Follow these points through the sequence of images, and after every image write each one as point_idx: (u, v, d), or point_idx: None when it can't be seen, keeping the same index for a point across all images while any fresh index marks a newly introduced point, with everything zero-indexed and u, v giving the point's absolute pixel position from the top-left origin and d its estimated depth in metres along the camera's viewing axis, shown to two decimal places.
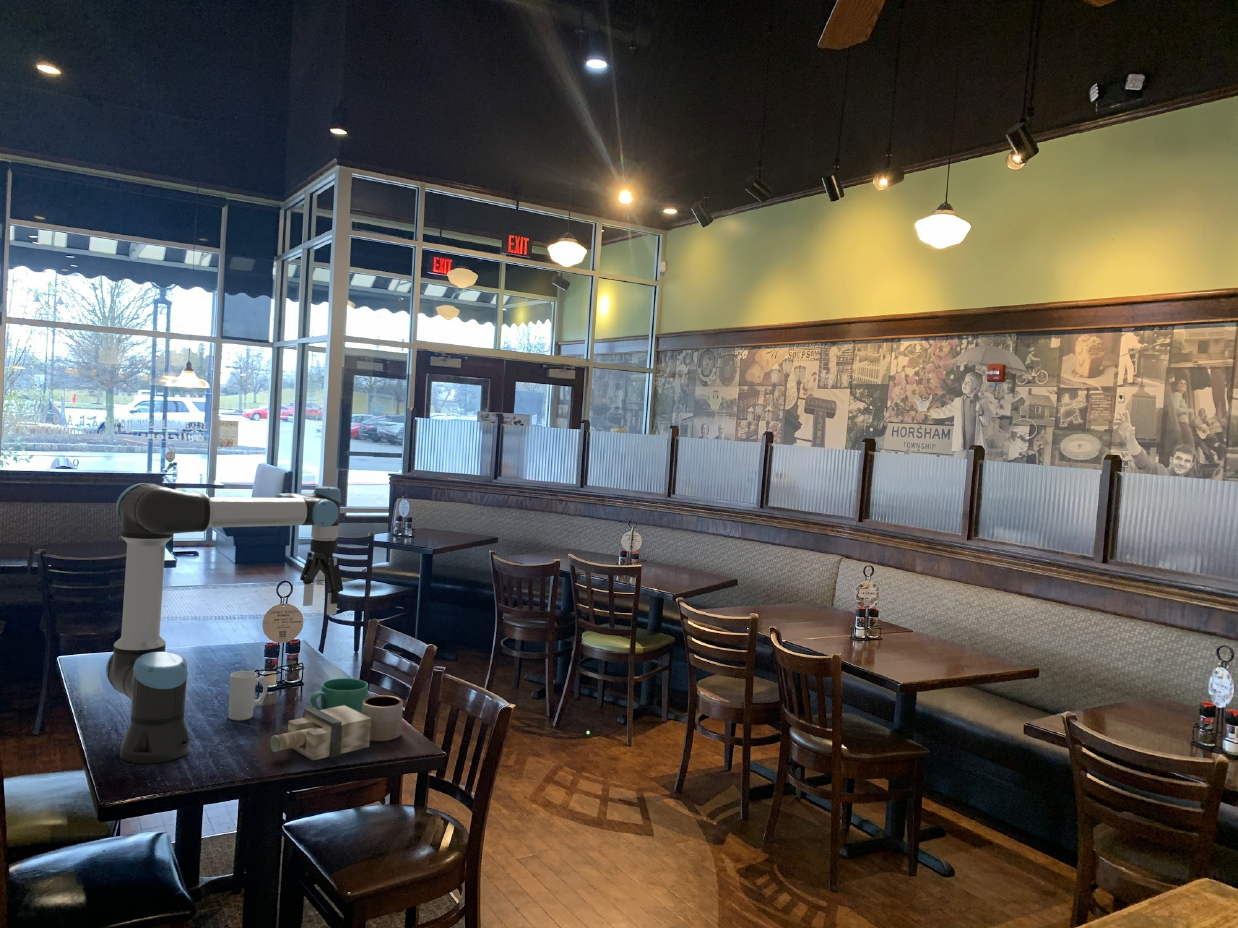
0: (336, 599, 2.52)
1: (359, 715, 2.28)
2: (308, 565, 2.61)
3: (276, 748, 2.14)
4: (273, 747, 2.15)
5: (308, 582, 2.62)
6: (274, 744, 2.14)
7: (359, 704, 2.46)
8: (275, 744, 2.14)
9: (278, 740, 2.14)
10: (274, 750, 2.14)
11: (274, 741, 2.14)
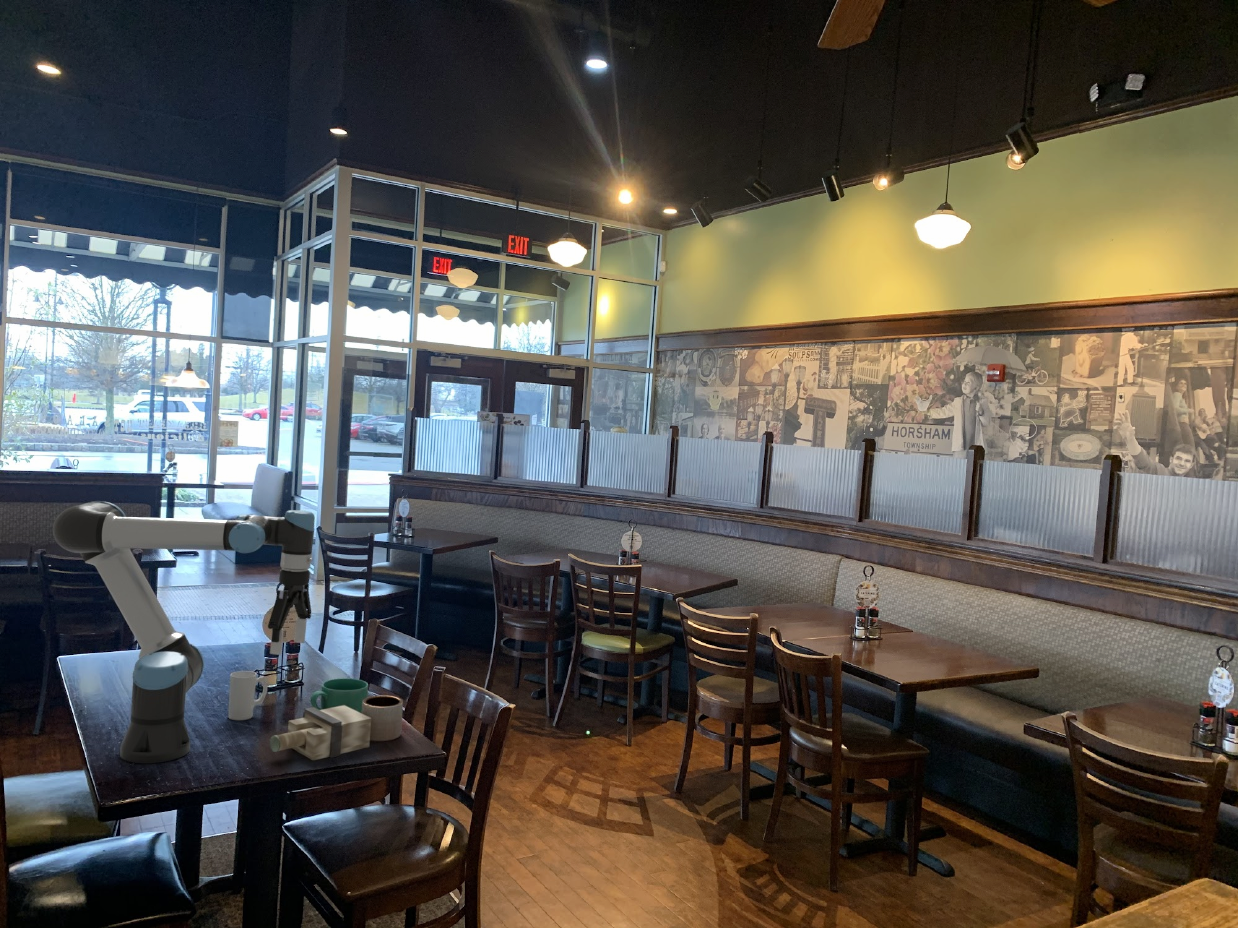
0: (276, 637, 2.23)
1: (359, 715, 2.28)
2: None
3: (276, 748, 2.14)
4: (273, 747, 2.15)
5: (301, 616, 2.38)
6: (274, 744, 2.14)
7: (359, 704, 2.46)
8: (275, 744, 2.14)
9: (278, 740, 2.14)
10: (274, 750, 2.14)
11: (274, 741, 2.14)
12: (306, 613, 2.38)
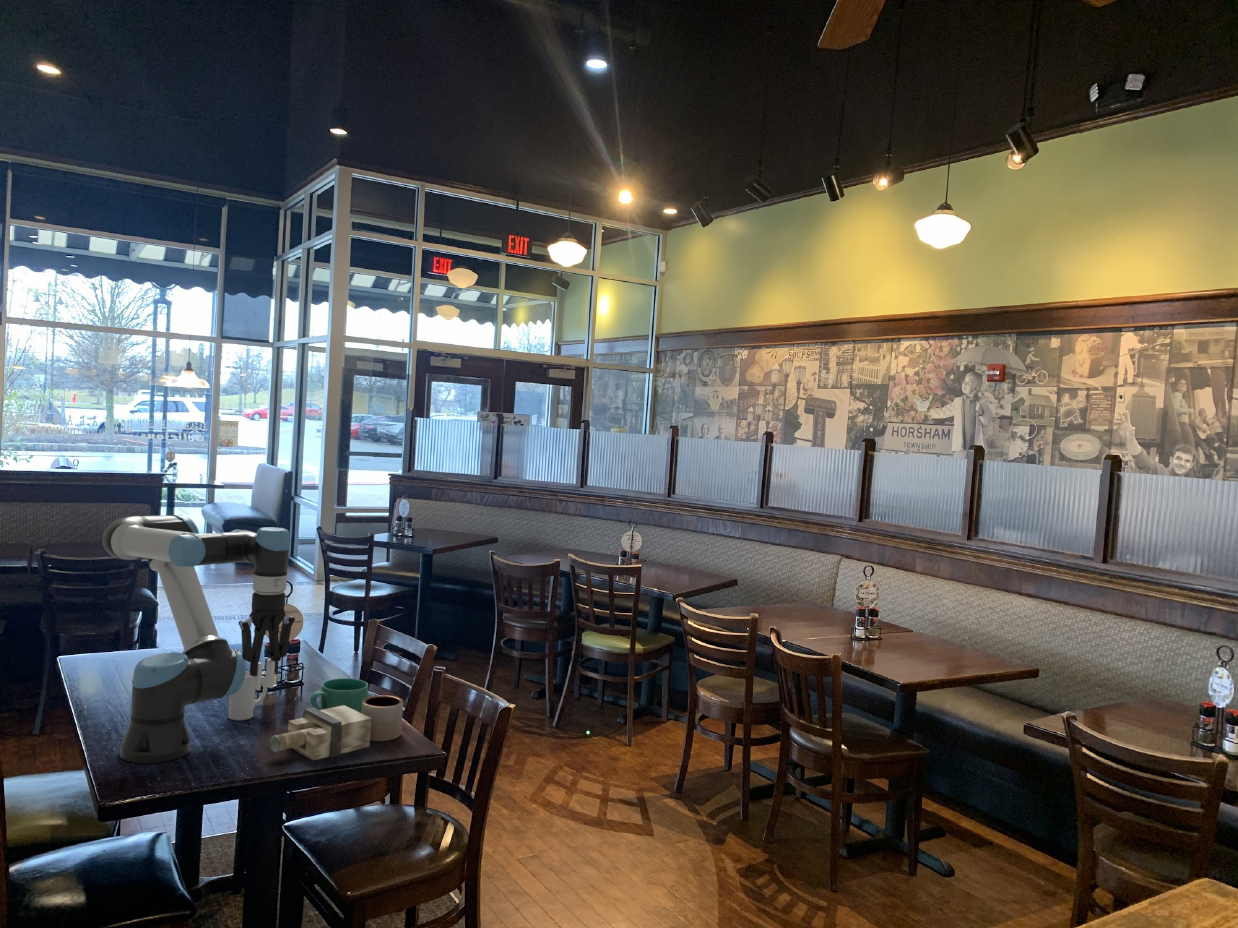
0: (252, 671, 2.08)
1: (359, 715, 2.28)
2: (281, 631, 2.15)
3: (276, 748, 2.14)
4: (273, 747, 2.15)
5: (272, 658, 2.13)
6: (274, 744, 2.14)
7: (359, 704, 2.46)
8: (275, 744, 2.14)
9: (278, 740, 2.14)
10: (274, 750, 2.14)
11: (274, 741, 2.14)
12: (276, 653, 2.12)
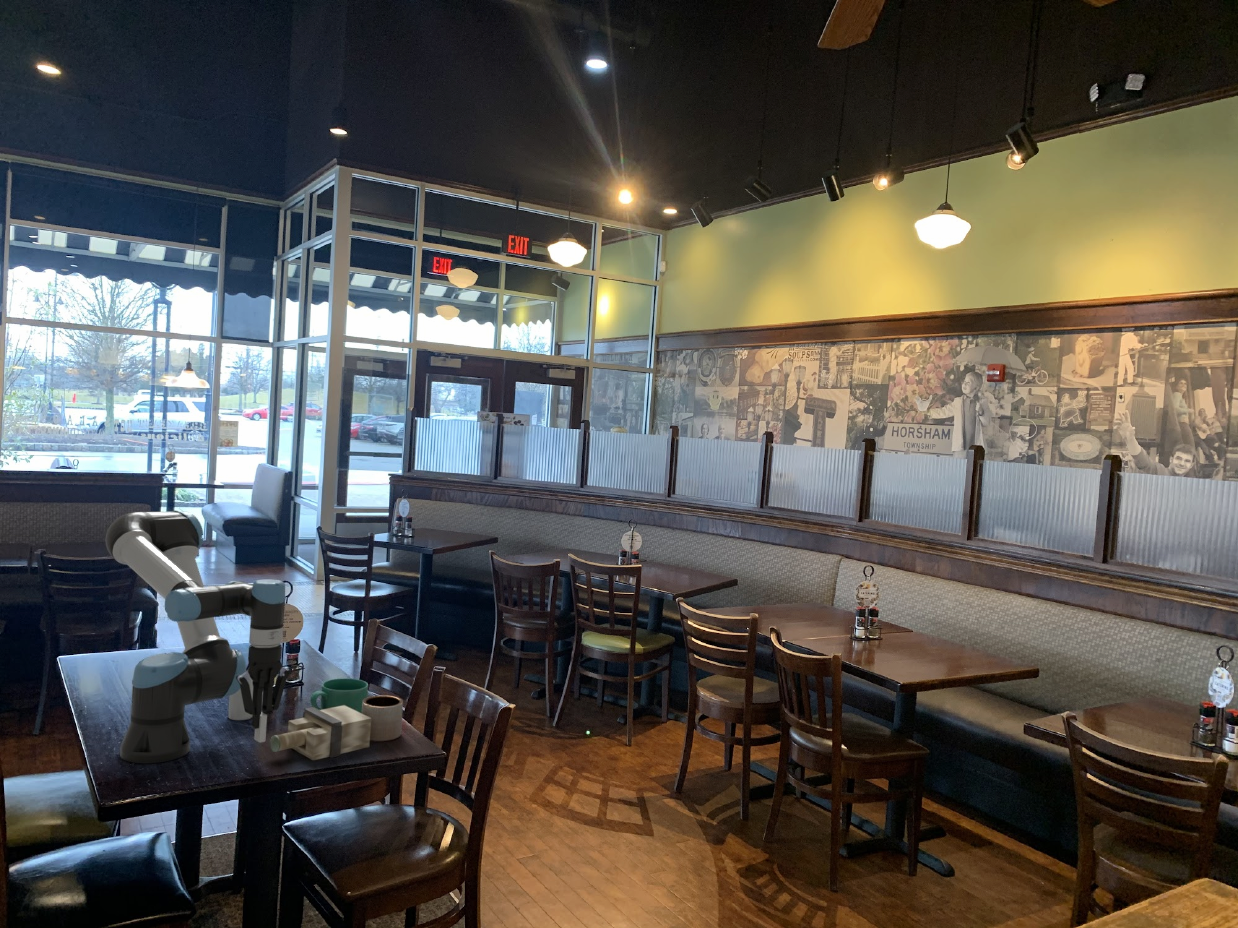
0: (254, 723, 2.10)
1: (359, 715, 2.28)
2: (276, 683, 2.14)
3: (276, 748, 2.14)
4: (273, 747, 2.15)
5: (264, 711, 2.12)
6: (274, 744, 2.14)
7: (359, 704, 2.46)
8: (275, 744, 2.14)
9: (278, 740, 2.14)
10: (274, 750, 2.14)
11: (274, 741, 2.14)
12: (269, 706, 2.11)
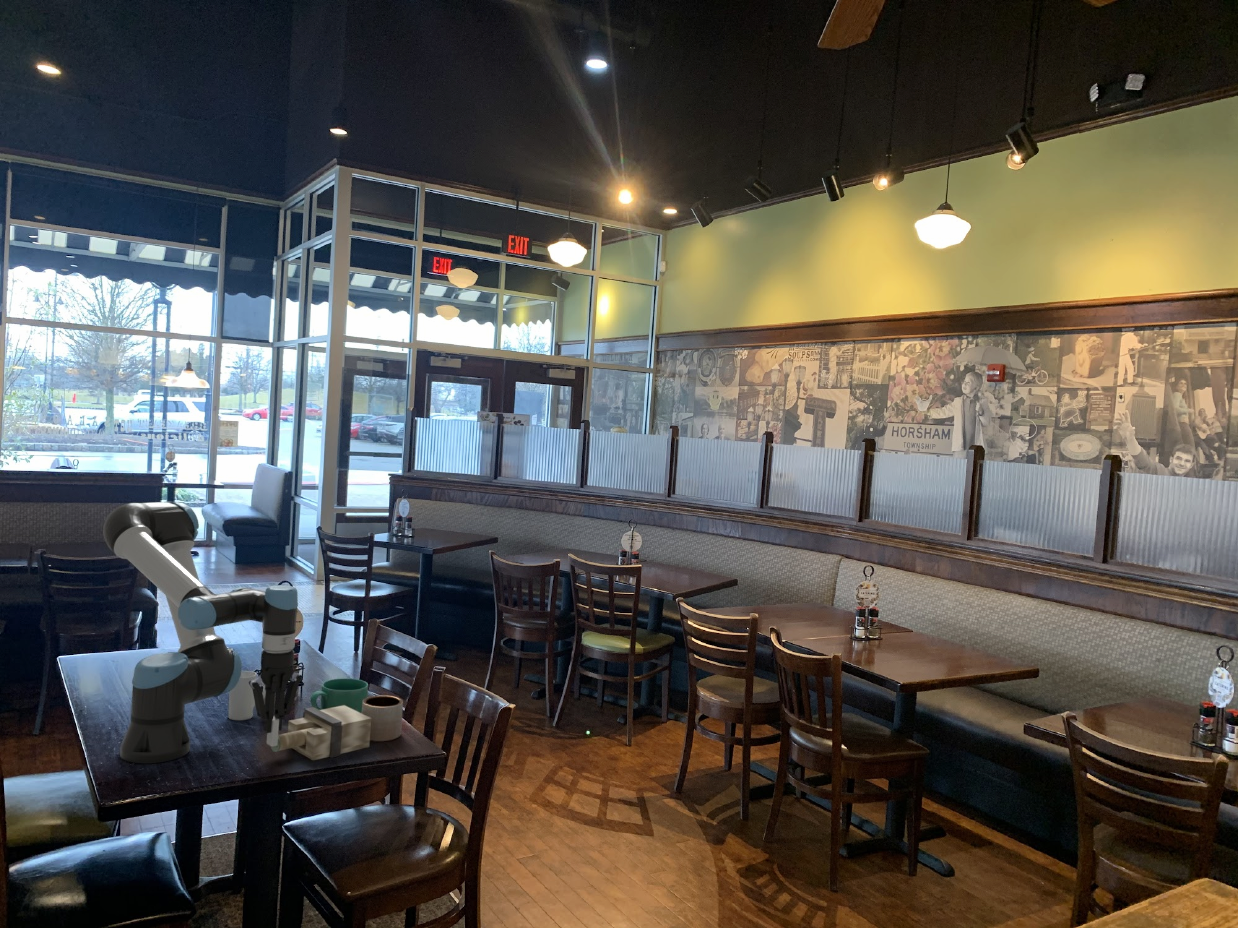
0: (266, 727, 2.12)
1: (359, 715, 2.28)
2: (288, 688, 2.17)
3: (276, 748, 2.14)
4: (274, 747, 2.15)
5: (276, 715, 2.14)
6: None
7: (359, 704, 2.46)
8: None
9: (278, 740, 2.14)
10: (274, 750, 2.14)
11: None
12: (281, 711, 2.14)
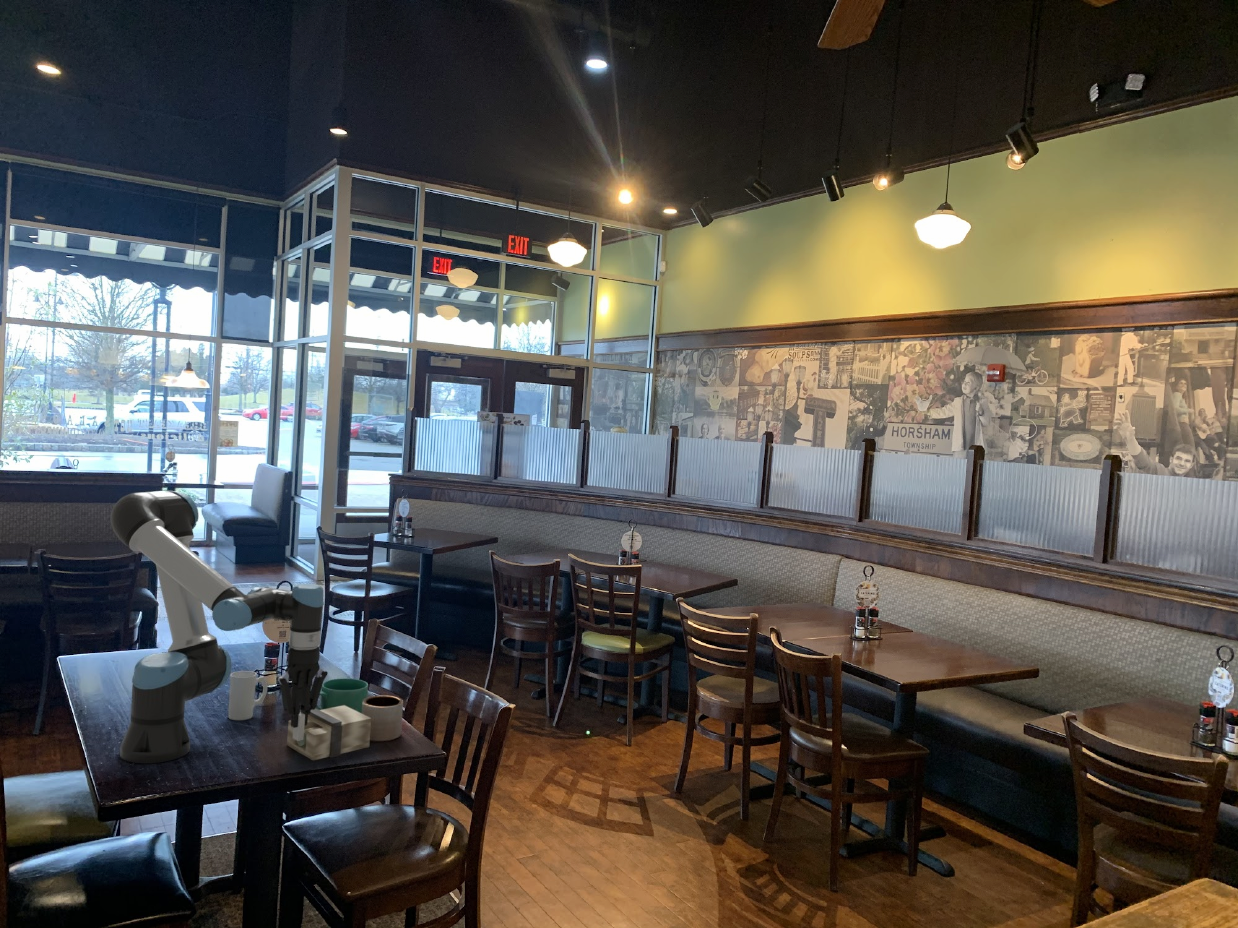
0: (293, 722, 2.17)
1: (359, 715, 2.28)
2: (313, 684, 2.22)
3: (303, 742, 2.19)
4: (300, 741, 2.20)
5: (302, 710, 2.20)
6: None
7: (359, 704, 2.46)
8: None
9: (304, 734, 2.19)
10: (300, 744, 2.20)
11: None
12: (307, 706, 2.19)
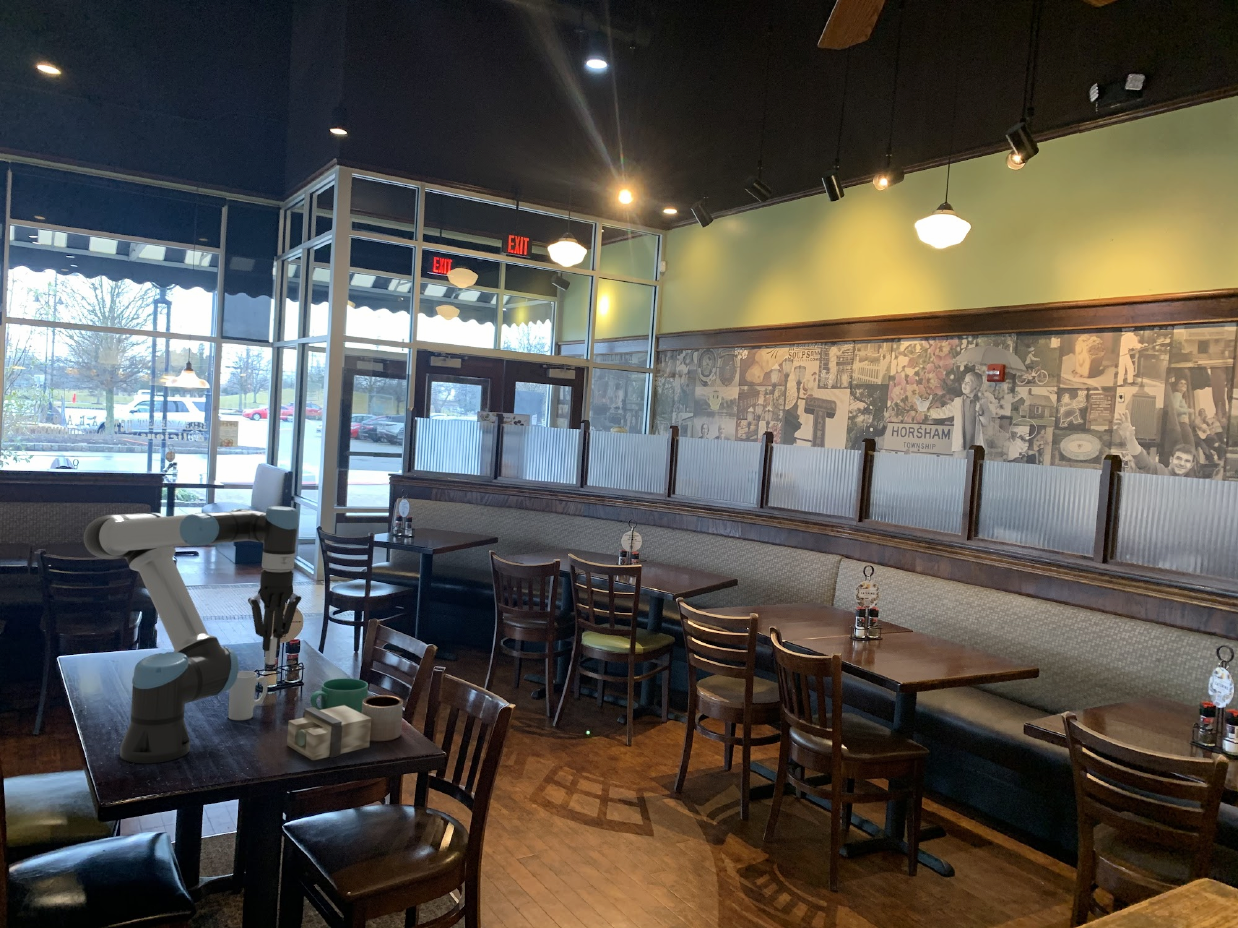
0: (264, 645, 2.15)
1: (359, 715, 2.28)
2: (287, 609, 2.19)
3: (303, 742, 2.19)
4: (300, 741, 2.20)
5: (274, 634, 2.17)
6: (300, 738, 2.20)
7: (359, 704, 2.46)
8: (301, 739, 2.19)
9: (304, 734, 2.19)
10: (300, 744, 2.20)
11: (300, 735, 2.20)
12: (279, 630, 2.16)
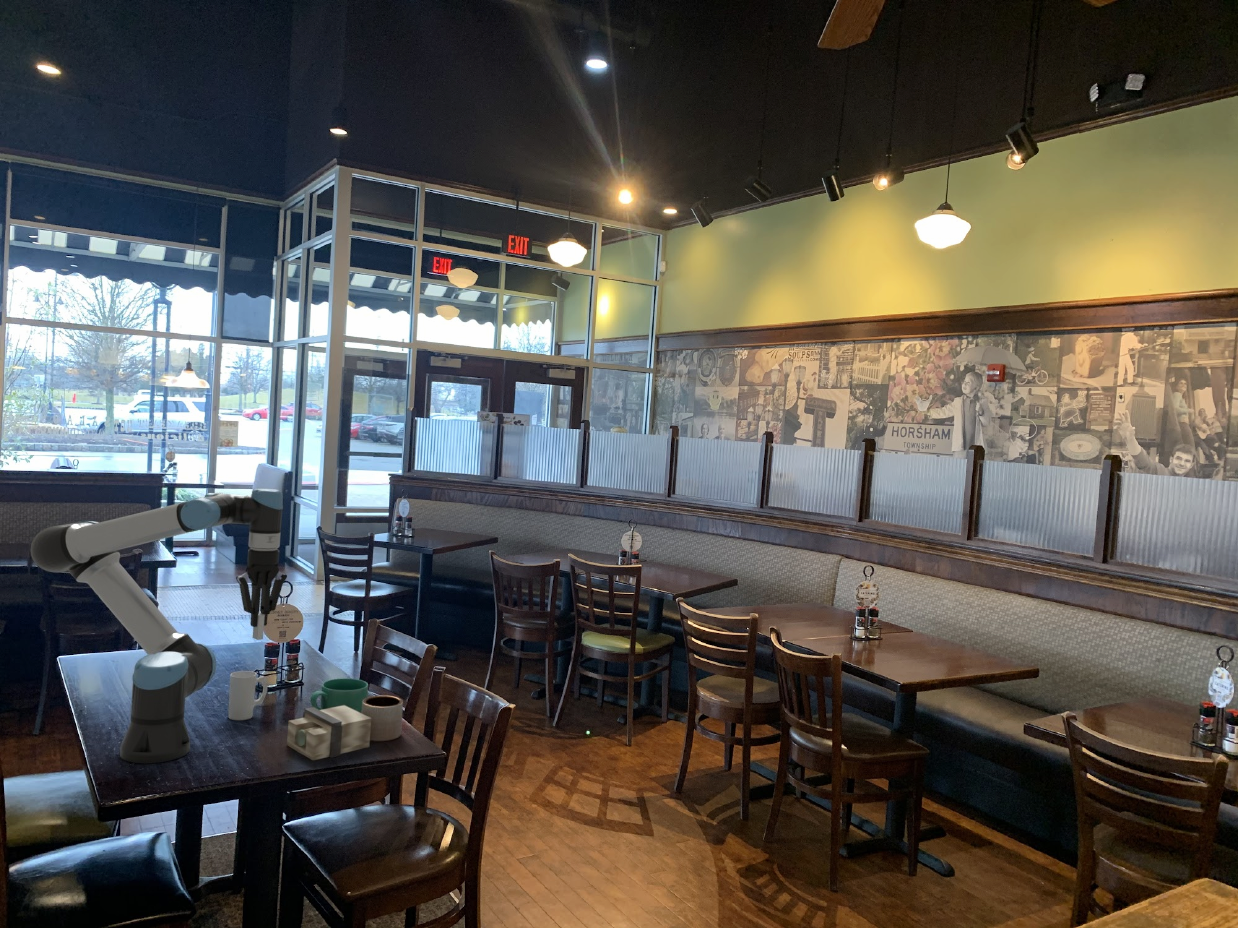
0: (252, 622, 2.24)
1: (359, 715, 2.28)
2: (273, 587, 2.29)
3: (303, 742, 2.19)
4: (300, 741, 2.20)
5: (262, 611, 2.26)
6: (300, 738, 2.20)
7: (359, 704, 2.46)
8: (301, 739, 2.19)
9: (304, 734, 2.19)
10: (300, 744, 2.20)
11: (300, 735, 2.20)
12: (266, 607, 2.26)
